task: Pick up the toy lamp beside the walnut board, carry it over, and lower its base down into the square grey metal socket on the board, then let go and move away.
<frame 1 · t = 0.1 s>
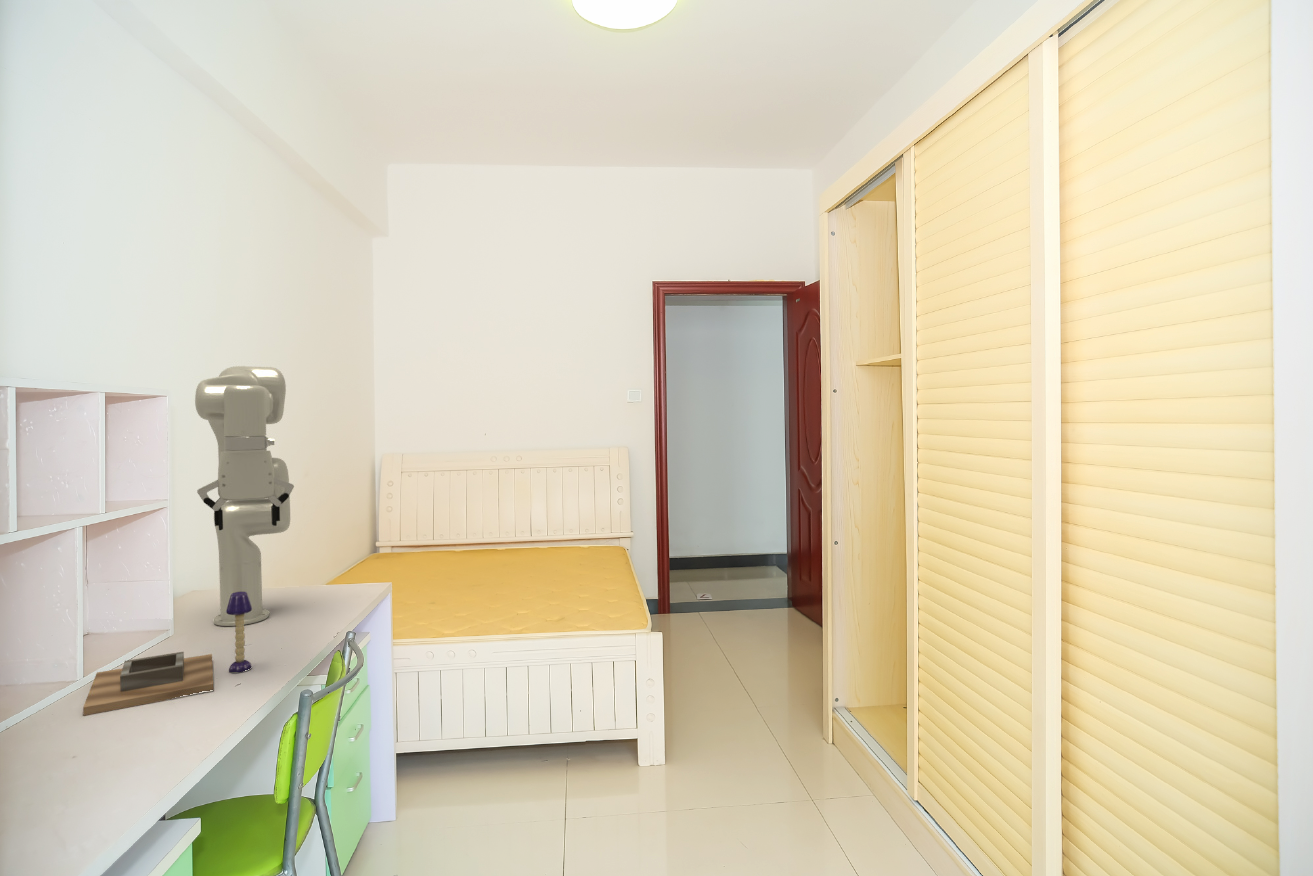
hand: (247, 527, 146), 31 cm above the table, tool pointing down, fingers open, 9 cm apart
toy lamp: (240, 671, 149), on the table
socket board: (154, 685, 141), on the table
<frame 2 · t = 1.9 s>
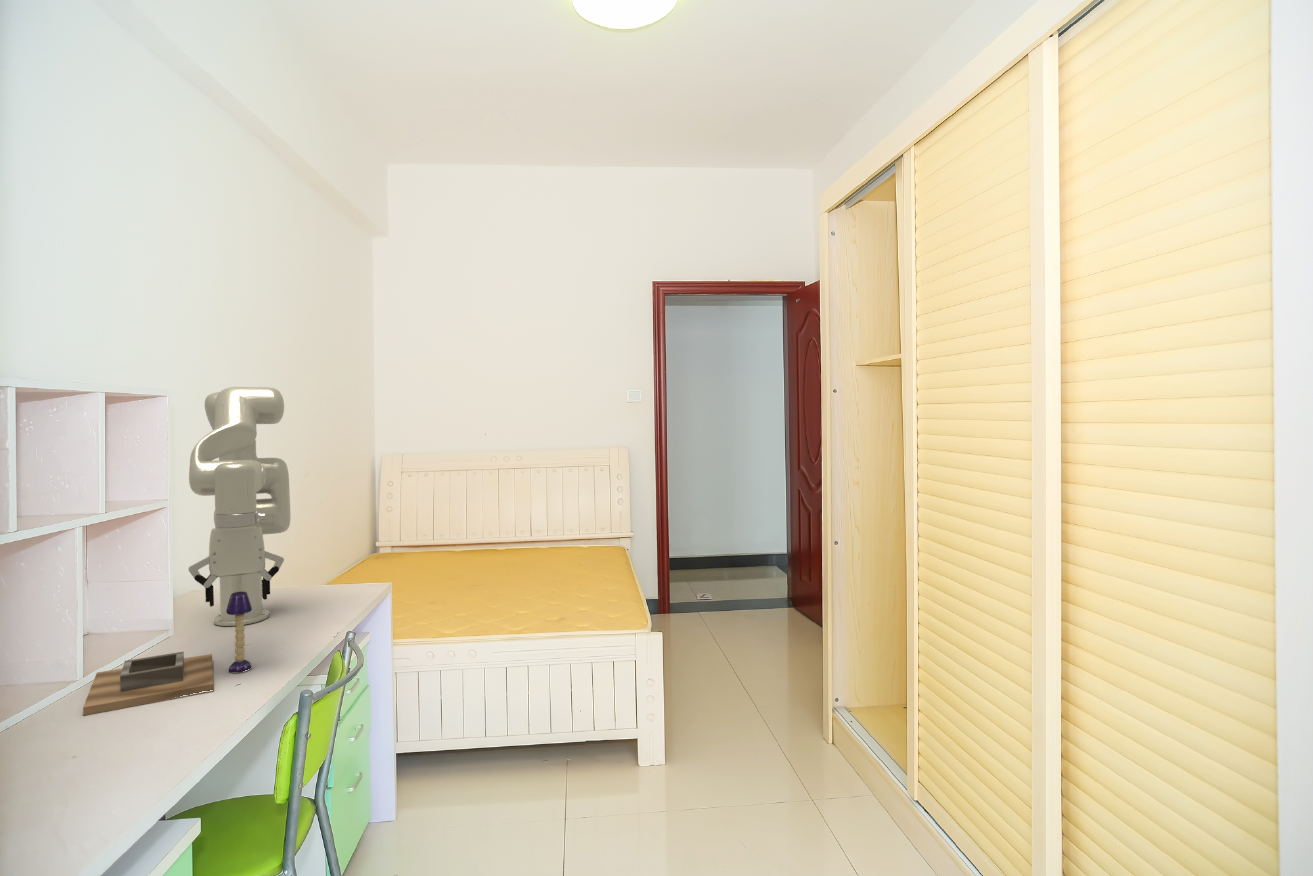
hand: (238, 601, 148), 15 cm above the table, tool pointing down, fingers open, 9 cm apart
nothing on the table moved.
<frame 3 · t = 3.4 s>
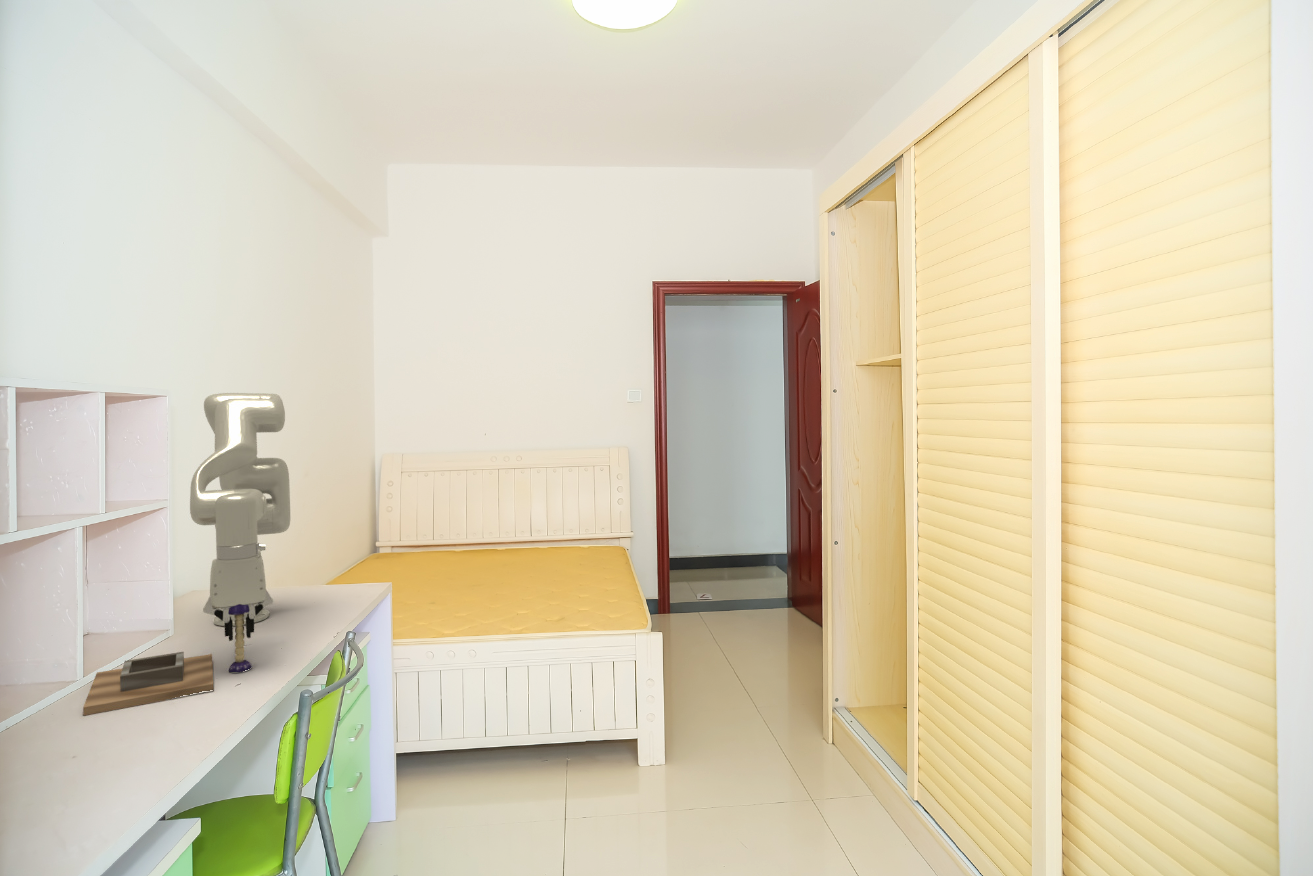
hand: (239, 637, 149), 7 cm above the table, tool pointing down, fingers closed on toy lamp, 2 cm apart
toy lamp: (240, 671, 149), on the table, touching gripper
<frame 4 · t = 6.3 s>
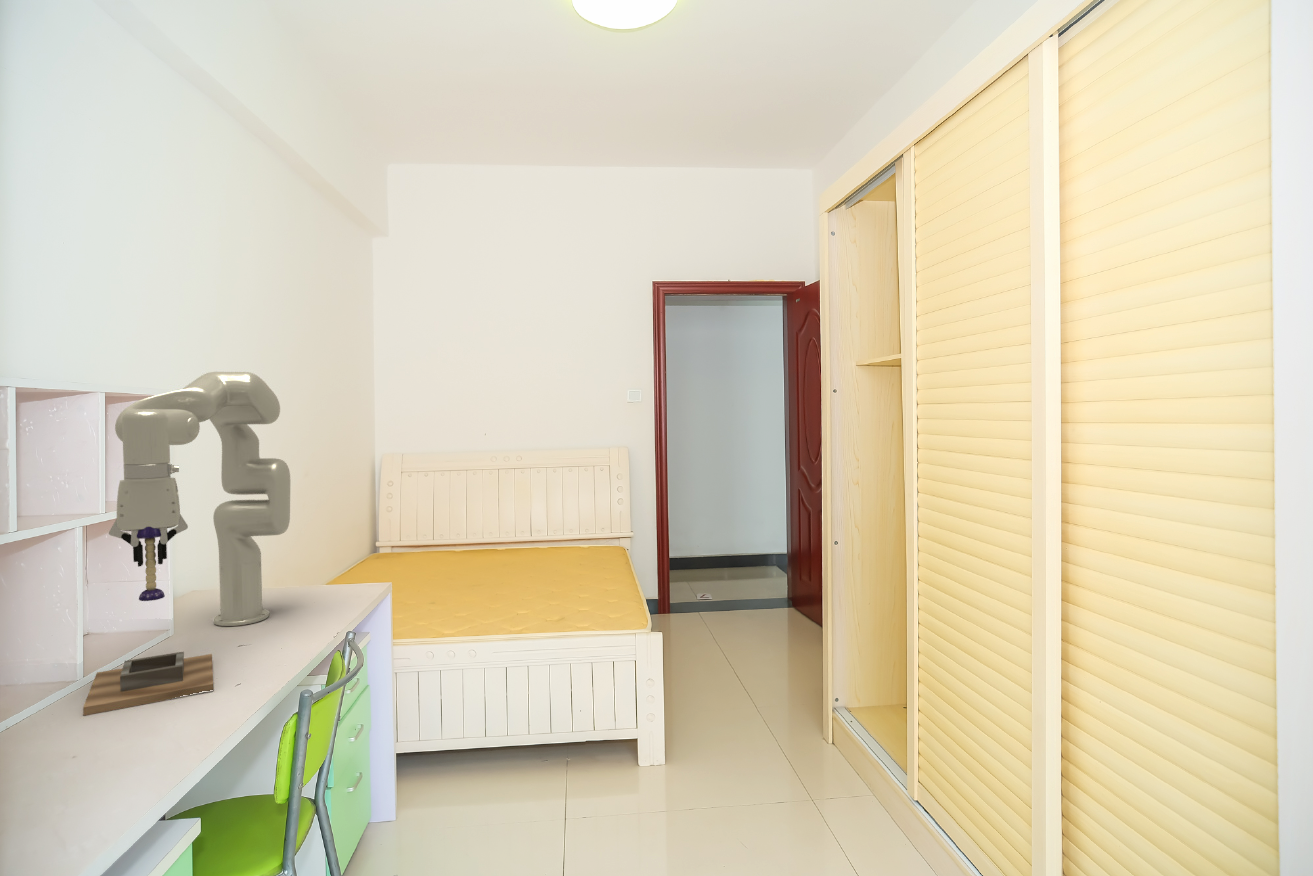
hand: (150, 563, 140), 25 cm above the table, tool pointing down, fingers closed on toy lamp, 2 cm apart
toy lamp: (151, 599, 140), point 17 cm above the table, touching gripper
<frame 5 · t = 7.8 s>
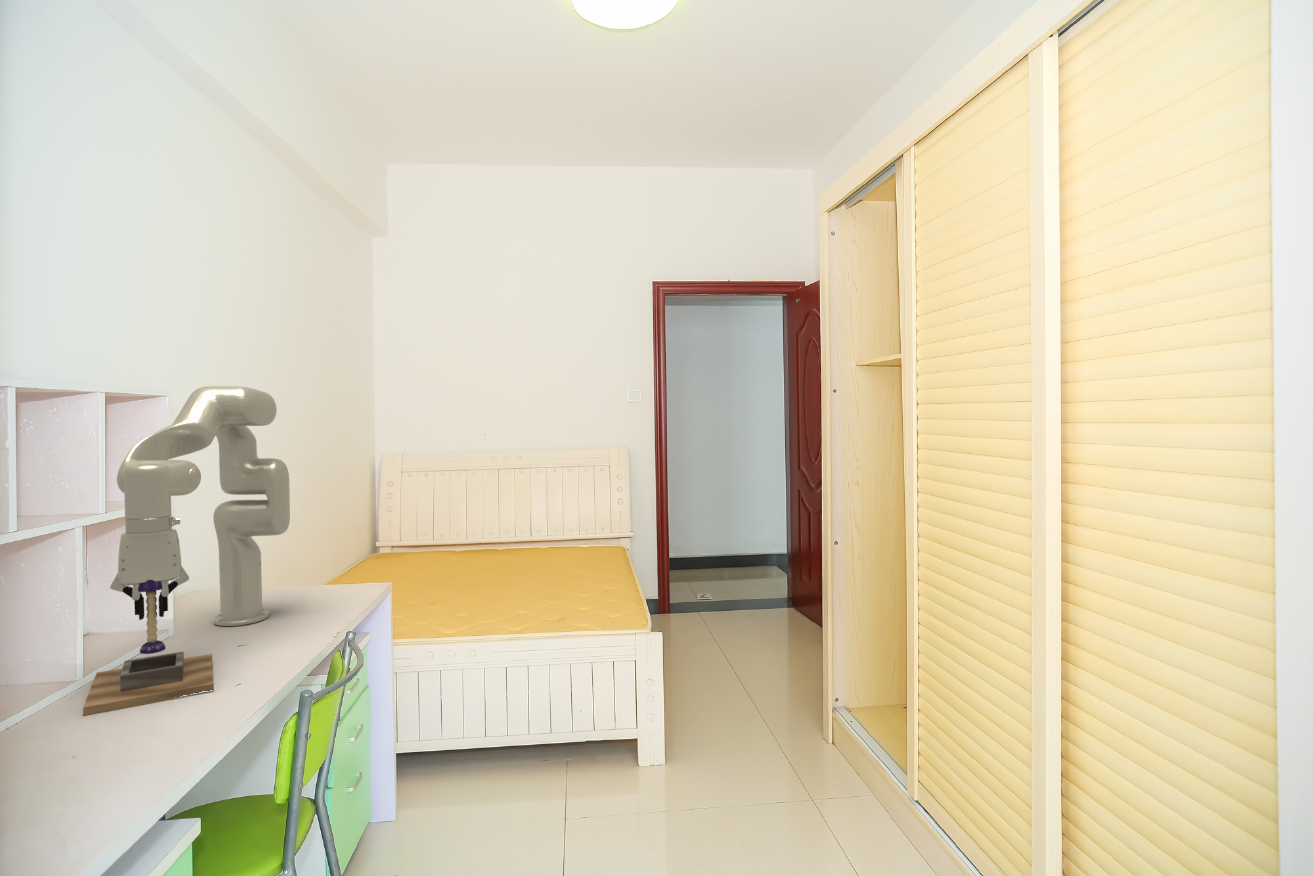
hand: (151, 615, 140), 14 cm above the table, tool pointing down, fingers closed on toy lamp, 2 cm apart
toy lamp: (152, 652, 141), point 7 cm above the table, touching gripper
when the fingers open (9 cm above the table, at t = 9.2 s): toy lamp stays where it is, resting on socket board.
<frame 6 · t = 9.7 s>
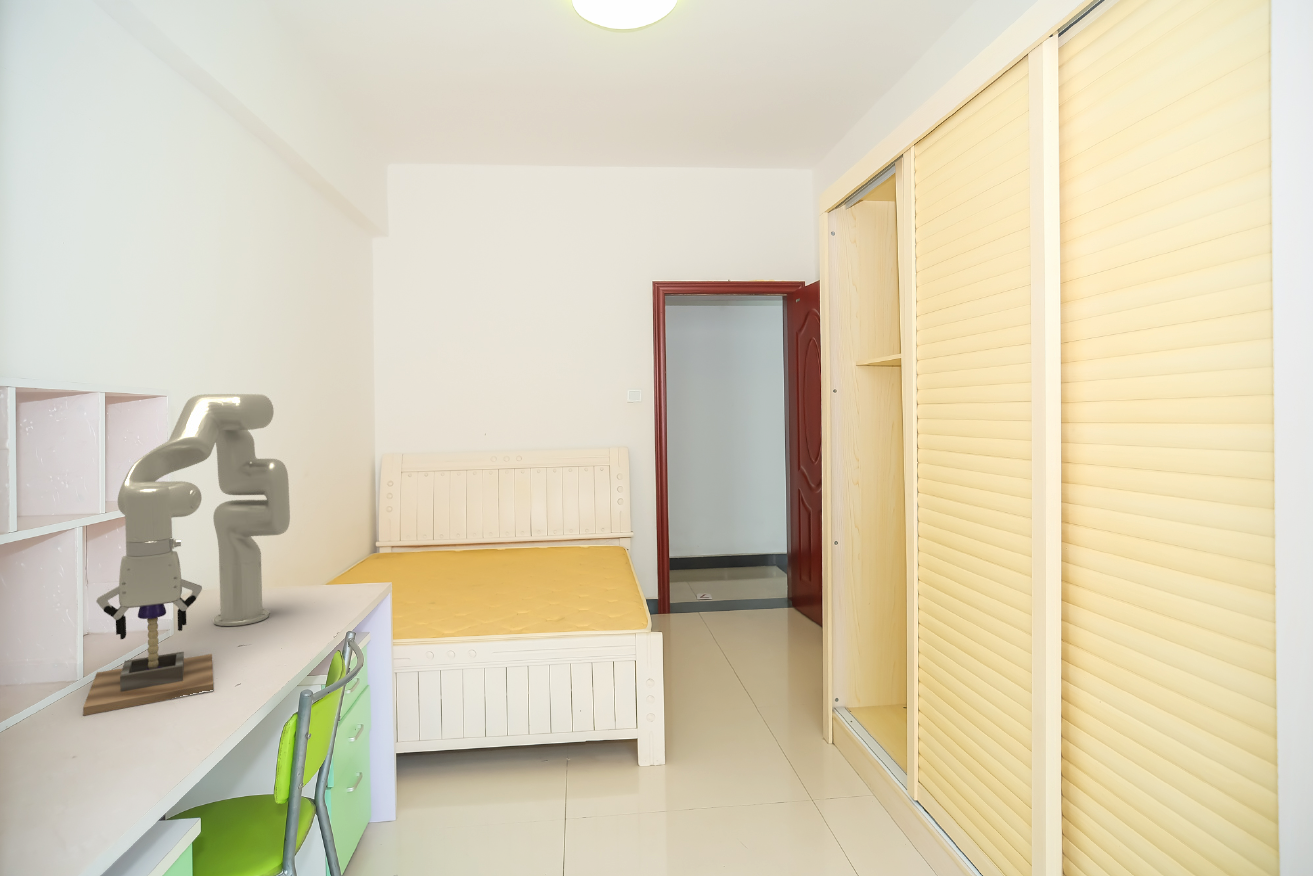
hand: (152, 633, 140), 11 cm above the table, tool pointing down, fingers open, 9 cm apart
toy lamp: (153, 678, 141), point 1 cm above the table, touching socket board
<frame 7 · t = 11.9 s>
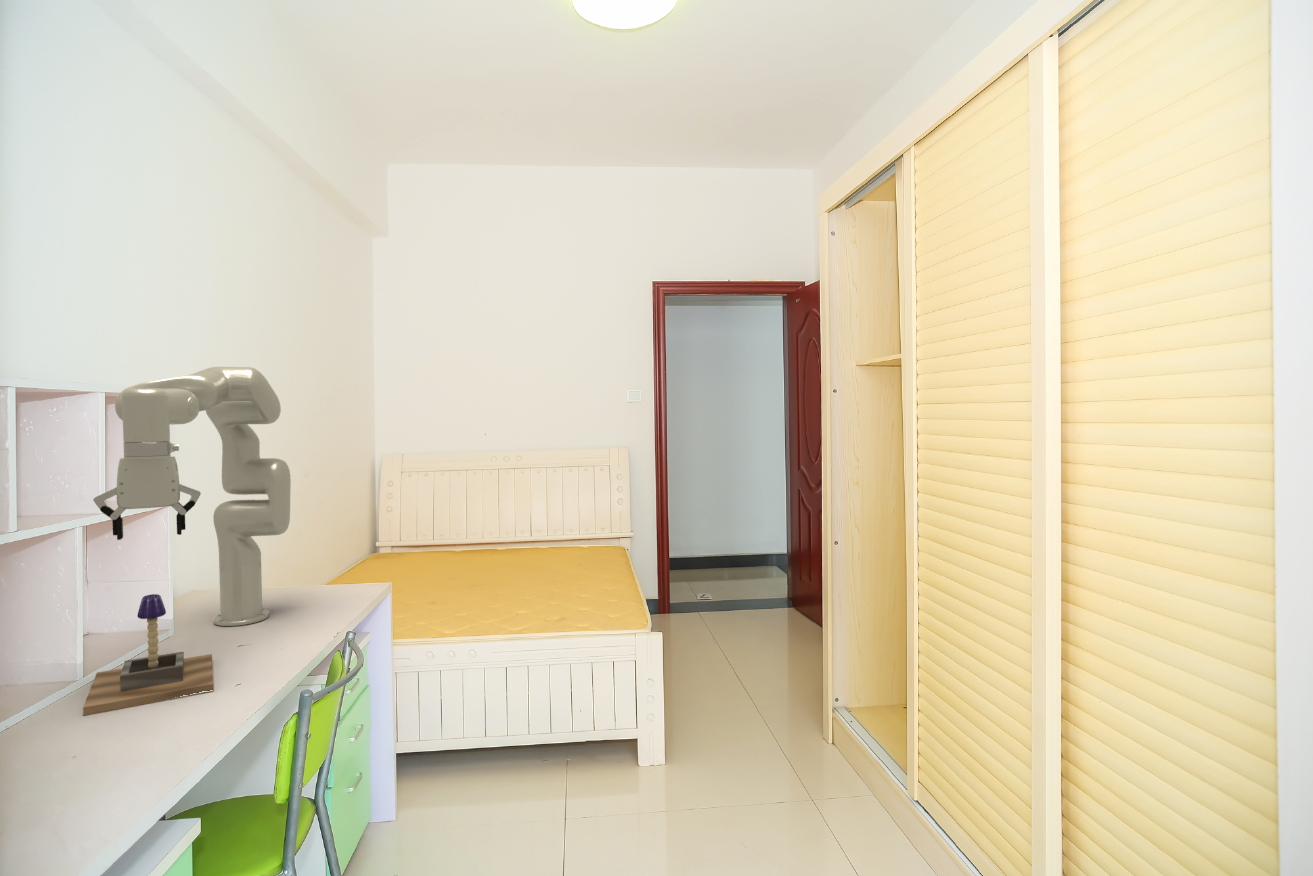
hand: (150, 536, 140), 30 cm above the table, tool pointing down, fingers open, 9 cm apart
nothing on the table moved.
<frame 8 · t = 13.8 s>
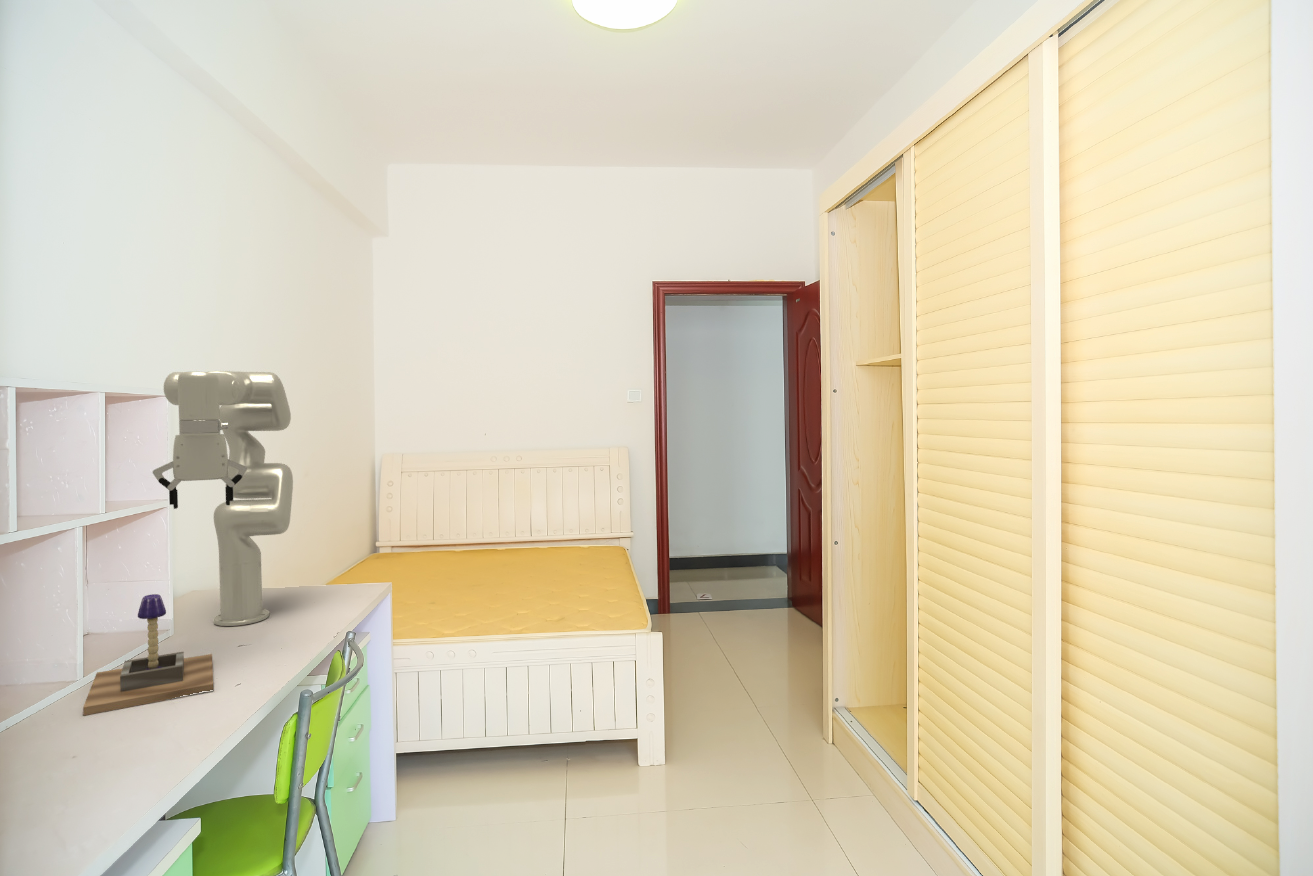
hand: (202, 506, 154), 34 cm above the table, tool pointing down, fingers open, 9 cm apart
nothing on the table moved.
at the end: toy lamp 0.5 cm off-centre on the socket board, point 1.3 cm above the socket board's base; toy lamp tilted 0°; the gripper is holding nothing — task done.
